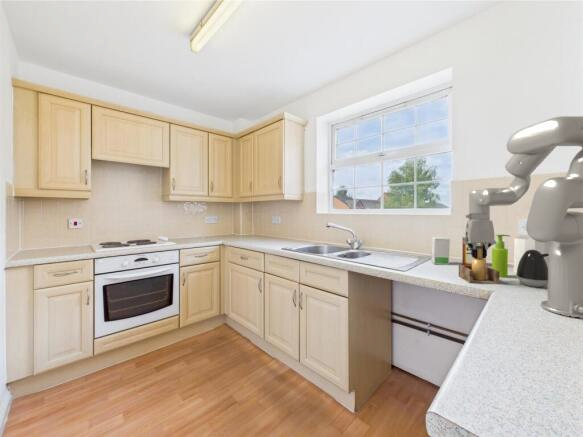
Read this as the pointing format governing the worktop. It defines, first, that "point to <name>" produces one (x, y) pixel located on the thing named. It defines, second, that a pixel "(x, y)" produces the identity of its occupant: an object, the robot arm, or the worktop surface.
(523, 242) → the container
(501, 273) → the soap dispenser
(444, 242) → the skincare box
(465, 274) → the open wooden box
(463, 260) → the baking soda box
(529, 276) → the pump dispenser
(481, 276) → the amber bottle
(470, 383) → the worktop surface
